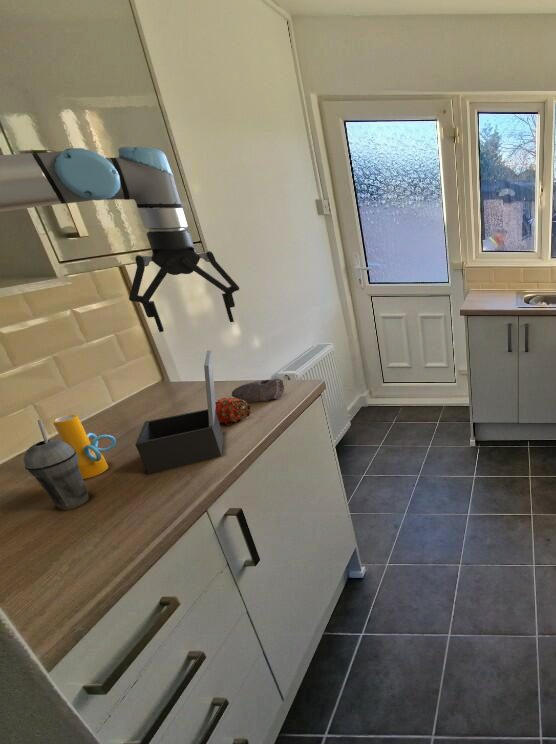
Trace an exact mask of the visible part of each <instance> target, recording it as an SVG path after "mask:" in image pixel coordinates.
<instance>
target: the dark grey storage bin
mask: <svg viewBox="0 0 556 744" xmlns="http://www.w3.org/2000/svg"><path fill="white" fill-rule="evenodd" d="M223 436H224V433H223V431H222V427H221V423H219V421H218V418H217V415H216V411H215V418H214V426H209V416H208V408H207V409H203V410H196V411H192V412H191V411H190V412H186V413H182V414H177V415H172V416H167V417H161V418H156V419H150V420H146V421H144V423H143V425H142V427H141V430H140V432H139V435H138V437H137V439H136V442H135V447H136V450H137V451H138V454H139V457H140V458H141V461H142V464H143V466H144V468H145V471H146V473H147V475H151V474H154V473H158V472H161V471H166V470H169V469H170V470H171V469H174V468H179V467H182V466H186V465H191V464H195V463H199V462H203V461H207V460H211V459H215V458H220V457H222V456H223V455H222V454H223V440H224V439H223V438H224V437H223Z"/></svg>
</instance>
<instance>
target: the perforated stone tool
mask: <svg viewBox="0 0 556 744" xmlns="http://www.w3.org/2000/svg"><path fill="white" fill-rule="evenodd" d="M284 392H285V385H284V381H283V379H281V378H271V379H262V380H257V381H253V382H252V381H251V382H249V383H245V384H242V385H239V386H238V387H236V388H234V389H233V390H232V391H231V397H235V398H238V399H242V400H244V401H246V402H247V404H251V403H261V402H270V401H271V400H278V399H280V398H281V397H282V396H283V394H284Z"/></svg>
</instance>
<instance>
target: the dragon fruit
mask: <svg viewBox="0 0 556 744" xmlns="http://www.w3.org/2000/svg"><path fill="white" fill-rule="evenodd" d="M215 403H216V408H215V411H216V415H217V418H218V421H219V424H221V423H224V424H225V426H230V425H233V423H235V424H236V423H237V422H241V421H243V420H244V419H246V418H247V417H249V416H250V415H251V414H252V412H251V411H250V410H251V406H250V404H249V403H247V402H246V401H244V400H242V399H238V398H235V397H232V396H228V398H227V397H222V398H218V399H217V401H215Z"/></svg>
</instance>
